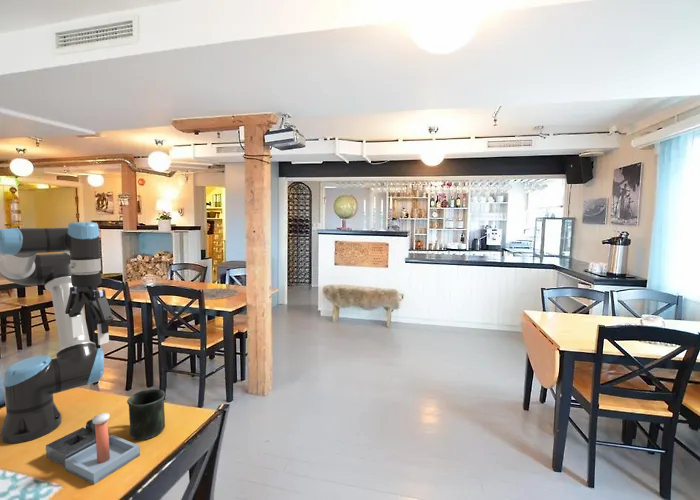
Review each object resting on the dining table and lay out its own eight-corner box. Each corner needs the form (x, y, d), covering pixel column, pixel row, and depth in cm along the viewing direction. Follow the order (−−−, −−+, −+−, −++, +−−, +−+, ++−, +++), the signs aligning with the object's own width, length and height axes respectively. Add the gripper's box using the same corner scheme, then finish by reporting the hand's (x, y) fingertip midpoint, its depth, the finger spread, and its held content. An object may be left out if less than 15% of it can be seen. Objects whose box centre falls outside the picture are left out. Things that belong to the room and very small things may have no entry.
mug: (136, 446, 111) (135, 409, 110) (119, 428, 121) (117, 394, 120) (172, 430, 120) (171, 396, 119) (153, 415, 129) (152, 382, 128)
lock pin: (92, 461, 103) (89, 418, 102) (106, 453, 107) (103, 411, 105) (100, 466, 101) (98, 422, 100) (114, 457, 105) (112, 415, 104)
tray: (65, 469, 101) (64, 459, 101) (112, 443, 113) (111, 434, 112) (94, 484, 96) (93, 473, 95) (140, 455, 107) (139, 445, 107)
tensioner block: (46, 458, 106) (44, 434, 105) (88, 436, 116) (87, 414, 116) (66, 468, 102) (64, 443, 101) (108, 444, 112) (107, 421, 111)
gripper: (48, 271, 112) (53, 337, 114) (98, 278, 102) (102, 350, 104) (75, 268, 119) (79, 330, 121) (124, 274, 108) (128, 342, 110)
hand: (90, 340), depth 112 cm, fingers open, 13 cm apart
